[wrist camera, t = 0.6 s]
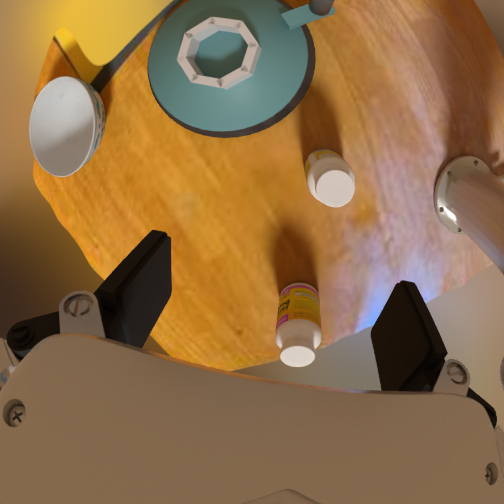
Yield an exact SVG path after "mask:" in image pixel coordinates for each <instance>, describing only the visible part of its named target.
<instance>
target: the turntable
mask: <svg viewBox="0 0 504 504" xmlns="http://www.w3.org/2000/svg"><path fill="white" fill-rule="evenodd" d="M333 2H334V0H310V3H309V4H306V5H303V6H301V7H298V8H295V9H293V10H290V11H289V10H288V9H286V8H285V7H284V6H283V5H282V4H280V3H279V2H277V1H276V0H190V1H188V2H186V3H185V4H183V5H182V6H180V7H179V8H178V9H176V10H175V11H174V12H173V13H172V14H171V15H170V16H169V17H168V18H167V19H166V20H165V21H164V23H163V24H162V26H161V27H160V28H159V30H158V32H157V34H156V36H155V38H154V40H153V43H152V45H151V49H150V53H149V60H148V72H149V78H150V83H151V86H152V88H153V91H154V93H155V95H156V97H157V99H158V100H159V101H160V103H161V104H162V106H163V107H164V108H165V109H166V110H167V111H168V112H169V113H170V114H172V115H173V116H174V117H175V118H177V119H179V120H180V121H182V122H184V123H186V124H188V125H190V126H193V127H196V128H199V129H203V130H209V131H234V130H240V129H244V128H248V127H251V126H254V125H256V124H259V123H261V122H263V121H265V120H267V119H269V118H270V117H272V116H274V115H275V114H276V113H278V112H279V111H280V110H282V109H283V108H284V107H285V106H286V105H287V104H288V103H289V102H290V101H291V99H292V98H293V97H294V96H295V94H296V93H297V91H298V89H299V87H300V86H301V83H302V81H303V78H304V76H305V72H306V68H307V62H308V48H307V42H306V38H305V35H304V33H303V30H302V28H301V26H302V25H304V24H307V23H309V22H312V21H315V20H318V19H321V18H324V17H327V16H330V15H333V14H334V13H335V9H334V8H333V6H332V4H333Z"/></svg>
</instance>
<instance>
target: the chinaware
mask: <svg viewBox="0 0 504 504" xmlns="http://www.w3.org/2000/svg"><path fill="white" fill-rule="evenodd" d="M105 122H106V116H105V108H104V105H103V102H102V99H101V97H100V96H99V94H98V93H97V91H96V90H95V89H94V88H93V87H92V86H91V85H90V84H88V83H87V82H85V81H83V80H81V79H78V78H75V77H70V76H62V77H58V78H55V79H53V80H52V81H50V82H49V83H48V84H47V85H46V86H45V87H44V88H43V89H42V90H41V92H40V93H39V95H38V96H37V98H36V100H35V103H34V105H33V108H32V111H31V116H30V124H29V135H30V142H31V146H32V150H33V153H34V155H35V157H36V159H37V161H38V163H39V164H40V165H41V167H42V168H43V169H44V170H45V171H47V172H48V173H49V174H51V175H54V176H57V177H66V176H69V175H71V174H73V173H75V172H76V171H78V170H79V169H80V168H81V167H83V166H84V165H85V164H86V163H87V162H88V161H89V160H90V158H91V157H92V156H93V155H94V153H95V152H96V150H97V148H98V147H99V145H100V142H101V140H102V137H103V134H104V130H105Z"/></svg>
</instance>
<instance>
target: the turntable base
mask: <svg viewBox="0 0 504 504" xmlns="http://www.w3.org/2000/svg"><path fill="white" fill-rule="evenodd" d="M276 1H277V2H279V3H280V4H282V5H283V6H284V7H285V8H286V9H288V10H289V11H290V10H293V9H292V8H291V7H290V6H289V5H288V4H286V3H285V2H283V1H282V0H276ZM301 28H302V30H303V33H304V35H305V38H306V42H307V48H308V62H307V68H306V72H305V76H304V78H303V81H302V83H301V86H300V87H299V89H298V91H297V93H296V94H295V96H294V97H293V98H292V99H291V101H290V102H289V103H288V104H287V105H286V106H285V107H284V108H283V109H282V110H280V111H279V112H278V113H276V114H275V115H274V116H272V117H270V118H269V119H267V120H265V121H263V122H261V123H259V124H256V125H254V126H251V127H248V128H244V129H240V130H234V131H209V130H203V129H199V128H196V127H193V126H190V125H188V124H186V123H184V122H182V121H180V120H179V119H177V118H175V117H174V116H173V115H172V114H170V113H169V112H168V111H167V110H166V109H165V108H164V107H163V106H162V104H161V103H160V101H159V100H158V99H157V97H156V95H155V93H154V91H153V88H152V86H151V83H150V78H149V72H148V78H149V83H150V87H151V90H152V93H153V95H154V97H155V99H156V101H157V103H158V104H159V105H160V107H161V108H162V110H163V111H164V112H165V113H166V114H167V115H168V116H169V117H170V118H171V119H173V120H174V121H175V122H176V123H178V124H179V125H181V126H183V127H184V128H186V129H188V130H191V131H193V132H195V133H199V134H202V135H206V136H211V137H221V138H230V137H240V136H246V135H250V134H253V133H257V132H259V131H262V130H264V129H266V128H269V127H270V126H272V125H274V124H276V123H277V122H279V121H280V120H282V119H283V118H284V117H286V116H287V115H288V114H289V113H290V112H291V111H292V110H293V109H294V108H295V107H296V106H297V105H298V104H299V102H300V101H301V100H302V99H303V97H304V95H305V93H306V92H307V90H308V88H309V86H310V83H311V81H312V78H313V74H314V70H315V47H314V43H313V39H312V36H311V34H310V31H309V29H308V27H307V26H306V24H304V25H302V26H301ZM150 49H151V48H150ZM148 60H149V57H148Z"/></svg>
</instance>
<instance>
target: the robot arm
mask: <svg viewBox="0 0 504 504" xmlns="http://www.w3.org/2000/svg"><path fill="white" fill-rule="evenodd" d="M434 205H435V210H436V213H437V216H438V218H439V220H440V222H441V223H442V224H443V225H444V226H445V227H446V228H447V229H448V230H449V231H451V232H453V233H456V234H467V235H468V236H469V237H470V238H471V239H472V240H473V242H474V243H475V244H476V245H477V246H478V247H479V248H480V249H481V250H482V251H483V252H484V253H485V254H486V255H487V256H488V257H489V259H490V260H491V261H492V262H493V263H494V264H495V265H496V266H497V268H498V269H499V270H500V271H501V272H502V273H503V275H504V174H503V175H501V176H500V177H498V176H496V175H494V174H492V173H491V170H490V169H489V167H488V166H487V165H486V164H485V163H484V162H483V161H482V160H480V159H478V158H476V157H474V156H469V155H464V156H460V157H457V158H455V159H453V160H452V161H450V162H449V163H448V164H447V165H446V166H445V168H444V169H443V171H442V172H441V174H440V176H439V178H438V180H437V184H436V187H435V194H434ZM171 292H172V280H171V238H170V237H169V236H167V233H166V232H162V231H157V230H152V231H151V232H150V233H149V234H148V235H147V236H146V237H145V238H144V239H143V240H142V241H141V242H140V243H139V244H138V245H137V246H136V247H135V248H134V249H133V250H132V251H131V252H130V254H129V255H128V256H127V257H126V258H125V259H124V260H123V261H122V262H121V263H120V264H119V265H118V266H117V267H116V268H115V270H114V271H113V272H112V273H111V274H110V275H109V276H108V277H107V279H106V280H105V281H104V282H103V283H102V284H101V285H100V287H99V288H98V289H97V290H96V291H95V292H94V294H92V293H90V292H88V291H76V292H73V293H70V294H69V295H67V296H66V297H65V298H64V299H63V300H62V301H61V303H60V307H59V311H58V312H54V313H50V314H46V315H43V316H39V317H35V318H32V319H28V320H24V321H21V322H18V323H16V324H15V325H13V326H12V327H11V329H10V330H9V332H8V334H7V338H6V340H3V338H0V504H504V432H503V431H502V429H501V428H500V427H499V425H498V426H497V427H495V426H496V423H497V416H496V412H495V410H494V408H493V407H492V406H491V405H490V404H488V403H487V402H486V401H485V400H484V399H482V398H481V397H480V396H479V395H478V394H476V393H475V392H474V391H473V390H472V389H470V388H469V384H470V375H469V372H468V370H467V368H466V367H465V366H464V365H463V364H462V363H461V362H459V361H457V360H454V359H449V360H447V361H446V362H445V359H444V358H445V356H446V355H447V350H446V348H445V346H444V343H443V341H442V338H441V336H440V334H439V332H438V329H437V327H436V325H435V323H434V321H433V318H432V316H431V314H430V312H429V310H428V308H427V306H426V304H425V302H424V300H423V298H422V296H421V294H420V292H419V290H418V288H417V286H416V284H415V283H413V282H409V281H404V280H402V281H401V282H400V283H397V284H396V285H395V287H394V289H393V291H392V293H391V295H390V297H389V299H388V301H387V302H386V304H385V306H384V308H383V310H382V312H381V314H380V315H379V317H378V319H377V321H376V322H375V324H374V326H373V328H372V330H371V340H372V344H373V349H374V353H375V358H376V362H377V367H378V373H379V378H380V383H381V389H382V391H374V390H357V389H343V388H333V387H323V386H314V385H305V384H298V383H291V382H284V381H278V380H271V379H266V378H260V377H254V376H249V375H244V374H239V373H234V372H229V371H225V370H220V369H216V368H211V367H207V366H203V365H199V364H195V363H191V362H187V361H184V360H180V359H176V358H173V357H169V356H166V355H162V354H158V353H155V352H151V351H148V350H145V349H142V347H143V345H144V343H145V342H146V340H147V338H148V336H149V334H150V332H151V331H152V329H153V327H154V325H155V323H156V322H157V320H158V318H159V316H160V314H161V313H162V311H163V309H164V307H165V305H166V304H167V302H168V300H169V298H170V296H171ZM500 381H501V384H502V388H503V390H504V357H503V360H502V363H501V367H500Z"/></svg>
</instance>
